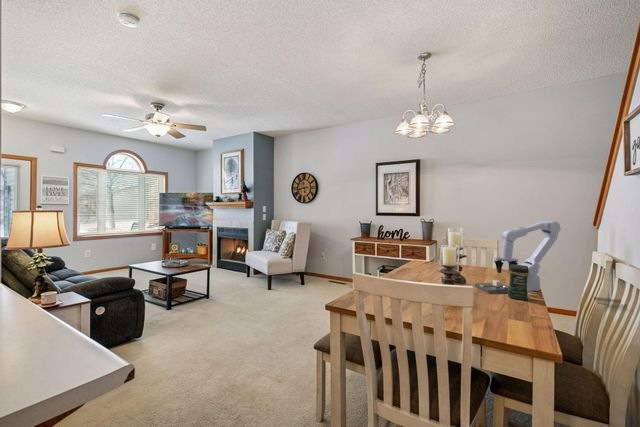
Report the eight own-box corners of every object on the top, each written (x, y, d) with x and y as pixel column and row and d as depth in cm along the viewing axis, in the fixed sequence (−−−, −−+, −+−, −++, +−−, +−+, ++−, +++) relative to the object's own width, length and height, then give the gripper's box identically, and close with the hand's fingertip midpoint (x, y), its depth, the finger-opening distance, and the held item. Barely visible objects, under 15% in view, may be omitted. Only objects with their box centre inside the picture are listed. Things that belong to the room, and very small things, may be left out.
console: (499, 285, 211) (499, 280, 211) (513, 292, 197) (514, 287, 197) (474, 286, 210) (475, 281, 209) (488, 293, 196) (488, 287, 195)
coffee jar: (507, 298, 187) (508, 265, 186) (507, 294, 194) (509, 262, 193) (527, 301, 182) (529, 267, 181) (527, 297, 189) (529, 264, 188)
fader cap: (496, 284, 205) (496, 279, 205) (500, 286, 201) (500, 281, 201) (492, 284, 205) (492, 279, 205) (496, 286, 201) (496, 281, 201)
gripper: (513, 250, 207) (510, 271, 208) (492, 249, 205) (489, 270, 206) (521, 252, 200) (519, 274, 201) (499, 251, 198) (497, 273, 199)
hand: (504, 273), depth 203 cm, fingers open, 7 cm apart
